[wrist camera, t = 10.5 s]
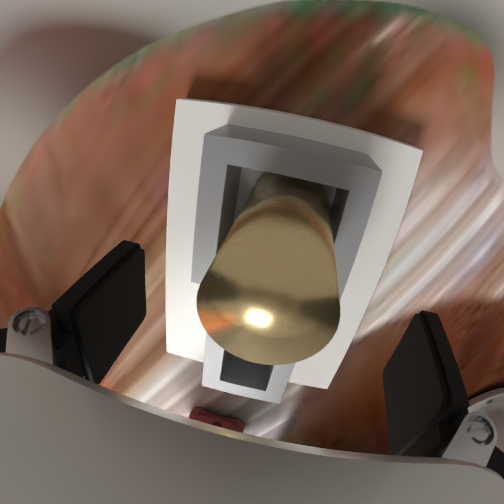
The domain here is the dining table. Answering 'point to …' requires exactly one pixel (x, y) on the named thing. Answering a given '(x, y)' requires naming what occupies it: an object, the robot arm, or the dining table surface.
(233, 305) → the brass pipe fitting
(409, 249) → the dining table surface
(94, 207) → the dining table surface
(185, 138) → the plate
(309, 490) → the robot arm
